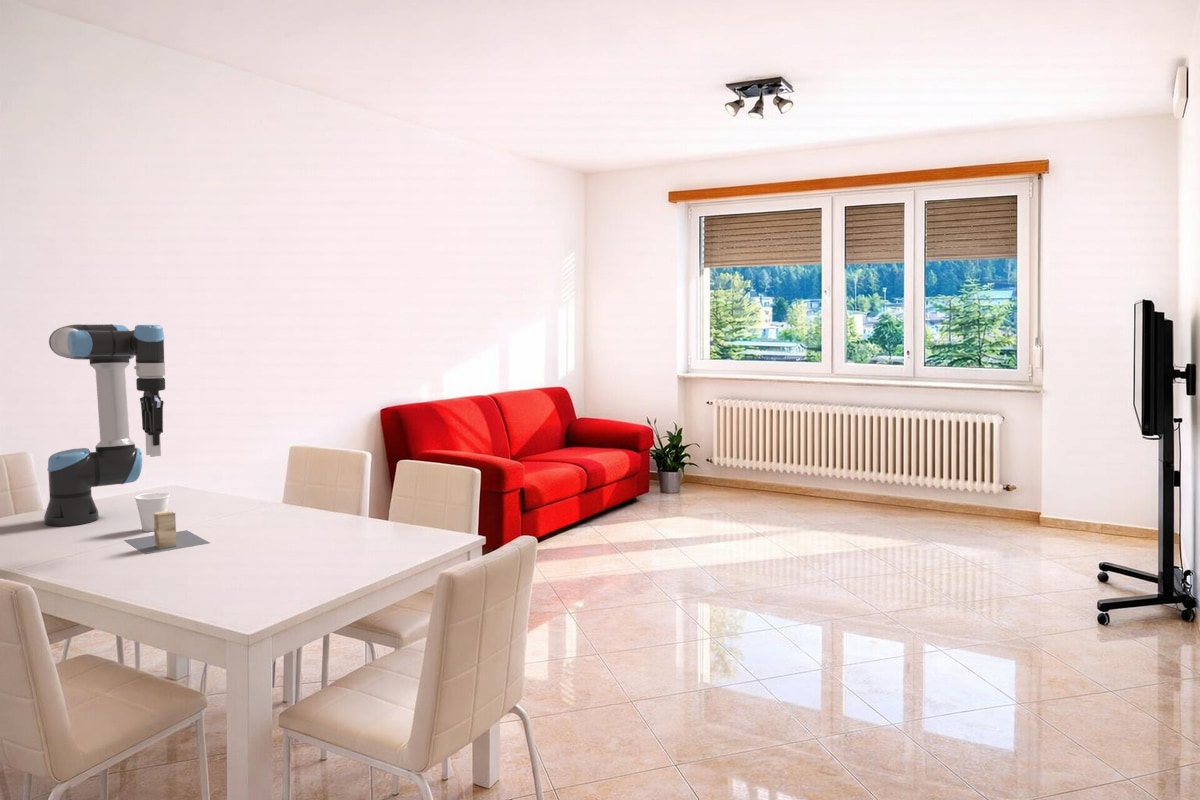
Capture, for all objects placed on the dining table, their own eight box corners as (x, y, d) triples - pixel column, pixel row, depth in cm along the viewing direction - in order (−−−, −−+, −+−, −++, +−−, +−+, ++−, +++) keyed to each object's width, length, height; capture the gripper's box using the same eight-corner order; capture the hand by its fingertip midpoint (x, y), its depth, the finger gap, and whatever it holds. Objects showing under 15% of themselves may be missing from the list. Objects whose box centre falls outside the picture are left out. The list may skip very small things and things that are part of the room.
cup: (155, 534, 259) (154, 500, 258) (128, 532, 261) (126, 498, 260) (178, 526, 269) (176, 493, 268) (151, 524, 271) (150, 491, 270)
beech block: (154, 546, 245) (153, 512, 244) (171, 543, 249) (170, 510, 248) (159, 549, 242) (158, 515, 241) (176, 546, 245) (175, 513, 244)
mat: (123, 541, 251) (123, 540, 251) (186, 531, 264) (186, 530, 264) (145, 555, 237) (145, 554, 237) (210, 544, 250) (210, 543, 250)
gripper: (128, 375, 249) (131, 453, 251) (145, 379, 238) (148, 460, 240) (155, 374, 254) (158, 450, 257) (173, 378, 243) (176, 457, 245)
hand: (153, 455), depth 248 cm, fingers open, 3 cm apart
